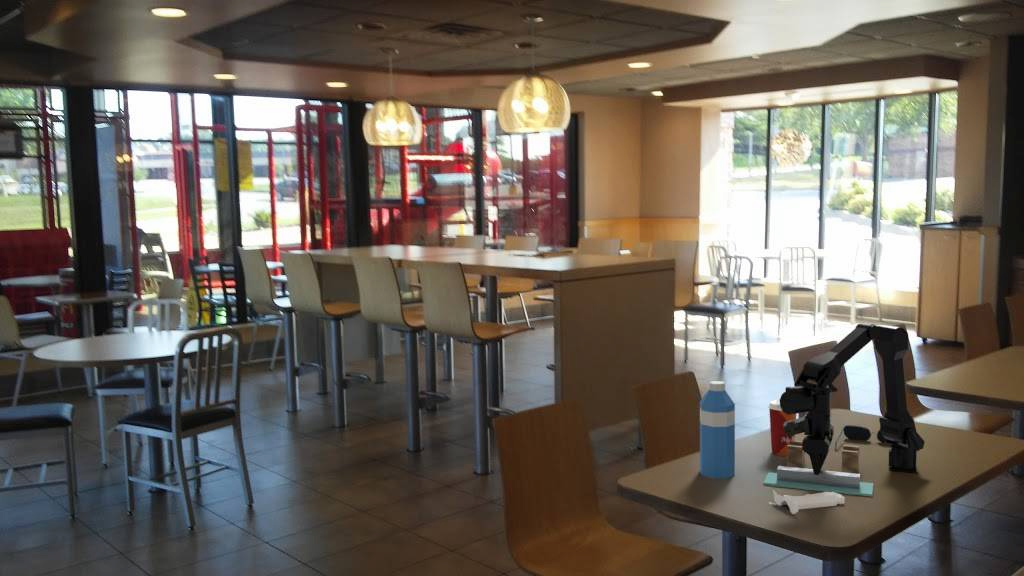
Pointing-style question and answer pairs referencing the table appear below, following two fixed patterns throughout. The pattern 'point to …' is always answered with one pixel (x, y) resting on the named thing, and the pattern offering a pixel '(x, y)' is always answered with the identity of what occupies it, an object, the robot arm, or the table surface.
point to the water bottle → (717, 432)
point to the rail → (818, 477)
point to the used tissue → (808, 500)
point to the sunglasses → (859, 433)
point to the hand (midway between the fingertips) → (817, 469)
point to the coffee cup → (779, 428)
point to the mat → (820, 486)
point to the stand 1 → (795, 454)
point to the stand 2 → (850, 459)
